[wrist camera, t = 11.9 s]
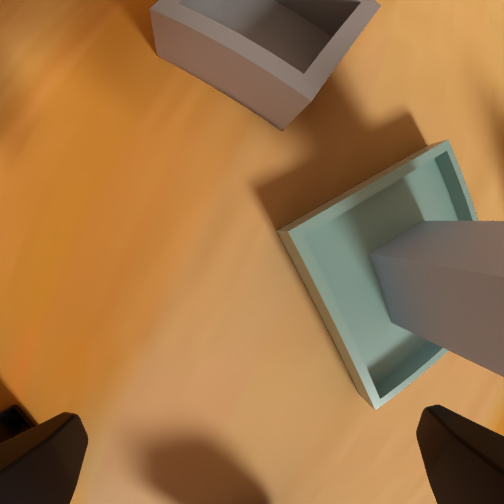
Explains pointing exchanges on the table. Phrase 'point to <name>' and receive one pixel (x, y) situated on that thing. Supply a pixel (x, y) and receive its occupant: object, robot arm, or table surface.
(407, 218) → the tray
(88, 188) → the table surface
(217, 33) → the holder
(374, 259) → the block
